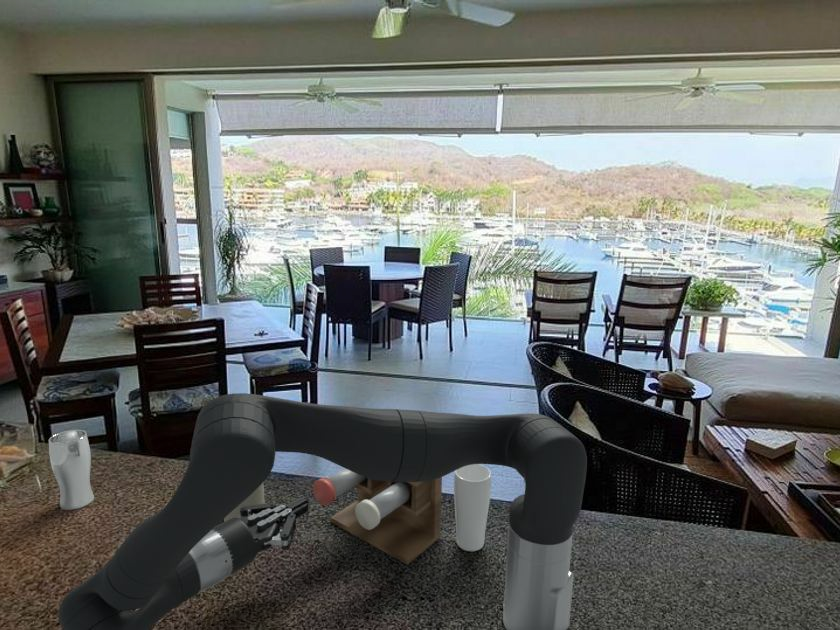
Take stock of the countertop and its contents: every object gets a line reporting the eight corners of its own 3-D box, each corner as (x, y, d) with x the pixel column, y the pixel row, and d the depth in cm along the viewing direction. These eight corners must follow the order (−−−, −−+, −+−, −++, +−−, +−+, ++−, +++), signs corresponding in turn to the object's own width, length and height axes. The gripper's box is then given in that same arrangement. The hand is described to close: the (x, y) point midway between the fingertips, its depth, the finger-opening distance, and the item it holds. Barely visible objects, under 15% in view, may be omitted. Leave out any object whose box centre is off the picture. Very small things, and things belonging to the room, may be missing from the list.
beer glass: (60, 497, 113) (50, 432, 110) (98, 490, 116) (89, 426, 113) (54, 514, 107) (43, 446, 104) (94, 506, 110) (85, 440, 107)
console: (440, 537, 102) (442, 451, 98) (407, 564, 94) (408, 473, 90) (365, 499, 114) (364, 422, 110) (330, 521, 106) (328, 439, 102)
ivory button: (412, 507, 97) (413, 483, 96) (375, 534, 89) (375, 508, 88) (393, 498, 100) (393, 475, 98) (355, 523, 92) (354, 498, 91)
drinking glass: (486, 558, 96) (490, 483, 93) (449, 552, 98) (451, 479, 94) (489, 535, 103) (492, 465, 99) (454, 530, 104) (457, 461, 101)
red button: (369, 486, 103) (368, 464, 102) (330, 509, 96) (330, 486, 94) (351, 478, 106) (351, 456, 105) (313, 500, 98) (312, 477, 97)
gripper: (240, 551, 75) (330, 497, 89) (190, 516, 83) (280, 471, 97) (243, 595, 77) (331, 536, 90) (195, 557, 85) (282, 508, 98)
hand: (305, 503), depth 93 cm, fingers closed
